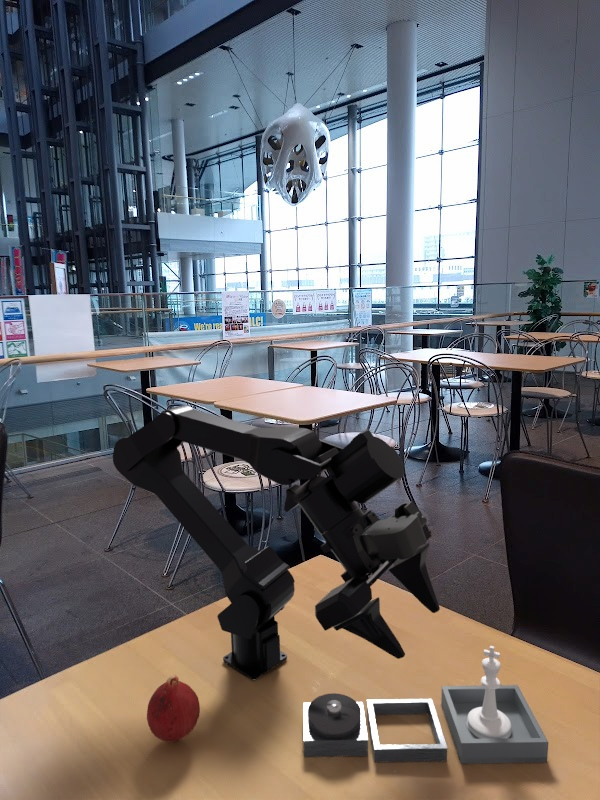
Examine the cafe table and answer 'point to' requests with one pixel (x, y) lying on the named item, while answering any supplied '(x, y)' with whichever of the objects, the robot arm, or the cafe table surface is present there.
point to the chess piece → (489, 704)
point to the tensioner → (347, 735)
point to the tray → (518, 748)
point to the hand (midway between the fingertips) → (420, 633)
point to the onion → (173, 710)
